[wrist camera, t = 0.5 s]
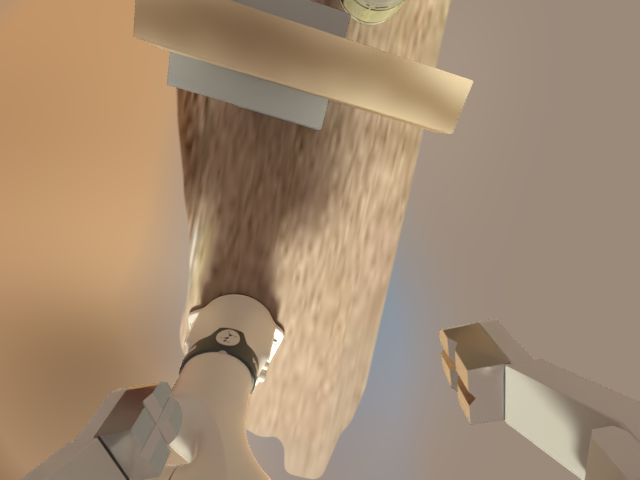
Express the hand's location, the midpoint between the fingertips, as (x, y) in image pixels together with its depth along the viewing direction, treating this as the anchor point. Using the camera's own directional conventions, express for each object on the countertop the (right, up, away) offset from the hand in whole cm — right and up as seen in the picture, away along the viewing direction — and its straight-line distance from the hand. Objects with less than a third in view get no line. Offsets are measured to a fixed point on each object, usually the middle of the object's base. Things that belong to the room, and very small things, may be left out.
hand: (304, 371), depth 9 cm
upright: (-5, +27, +38) cm, 47 cm away
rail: (0, +17, +14) cm, 22 cm away
